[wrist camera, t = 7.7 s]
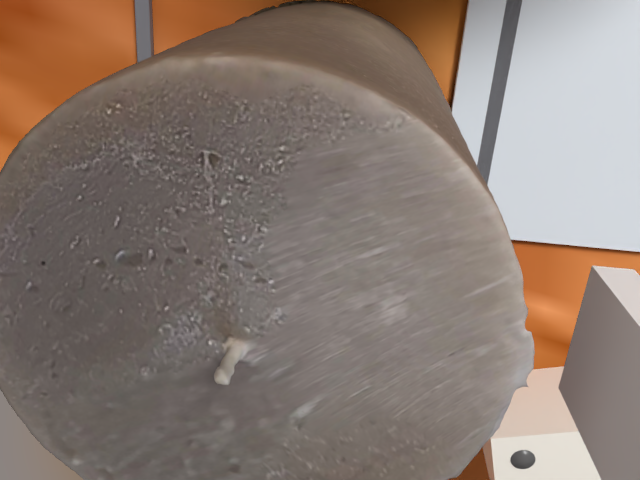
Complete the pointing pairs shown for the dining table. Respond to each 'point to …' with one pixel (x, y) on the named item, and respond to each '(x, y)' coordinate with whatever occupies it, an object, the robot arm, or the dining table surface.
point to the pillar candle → (260, 264)
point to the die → (538, 436)
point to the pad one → (559, 118)
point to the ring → (147, 50)
